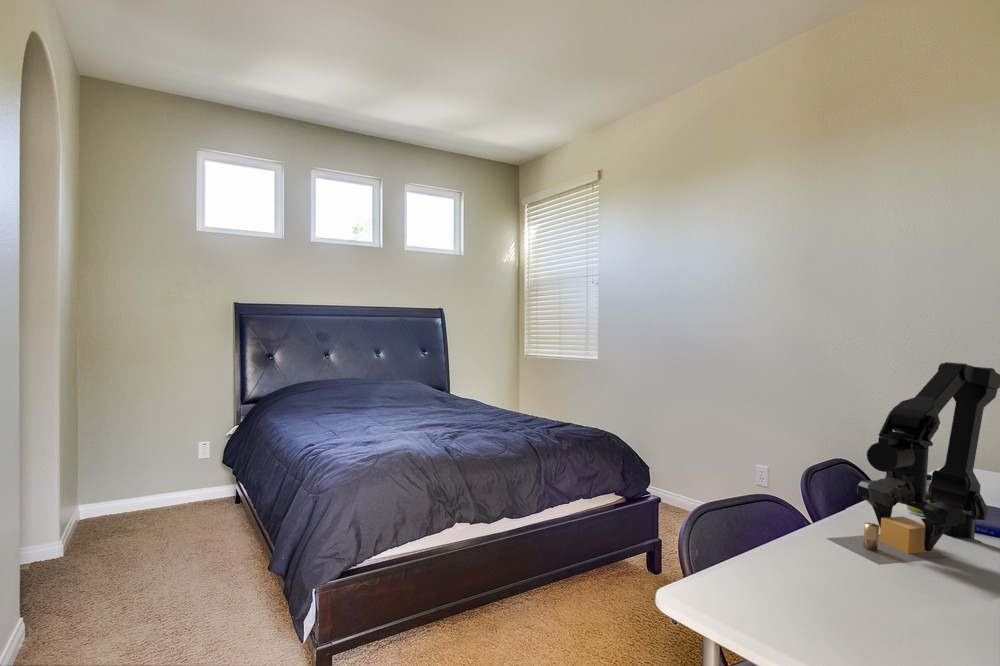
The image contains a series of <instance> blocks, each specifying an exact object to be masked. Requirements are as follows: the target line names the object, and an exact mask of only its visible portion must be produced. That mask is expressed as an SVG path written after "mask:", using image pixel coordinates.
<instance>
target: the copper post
mask: <svg viewBox="0 0 1000 666" xmlns="http://www.w3.org/2000/svg"><path fill="white" fill-rule="evenodd" d="M863 529H864V530H863V531H864V532H863V536H864V544H863V548H864V549H866V550H869V551H878V536H879V534H880V526H879V524H876V523H873V522H864V527H863Z"/></svg>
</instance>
